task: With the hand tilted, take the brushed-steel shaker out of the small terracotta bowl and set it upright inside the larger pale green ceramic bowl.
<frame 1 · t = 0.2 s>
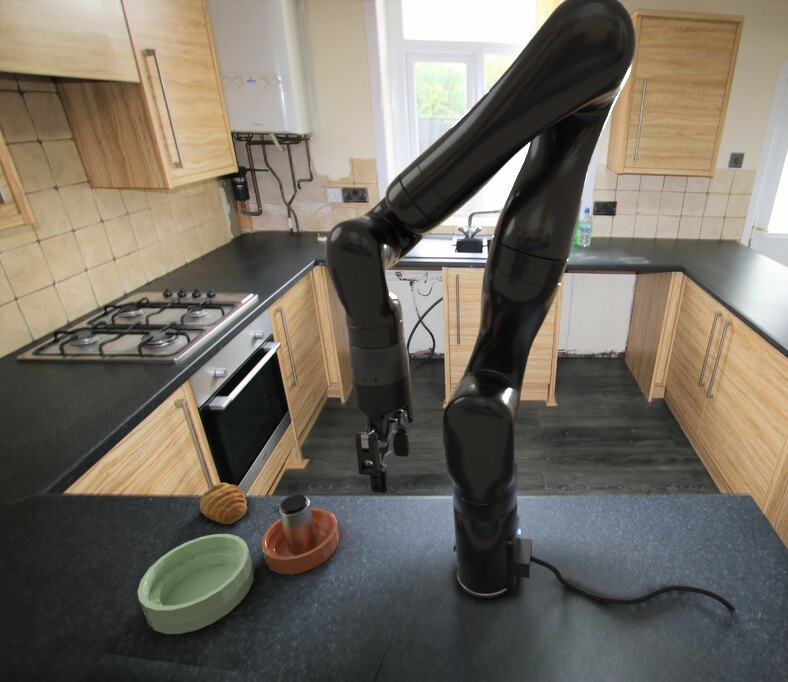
hand: (392, 471, 68), 17 cm above the counter, tool pointing down, fingers open, 8 cm apart
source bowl: (303, 548, 78), on the counter
pastry: (227, 509, 86), on the counter
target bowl: (204, 593, 70), on the counter
shaker: (303, 546, 77), resting on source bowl
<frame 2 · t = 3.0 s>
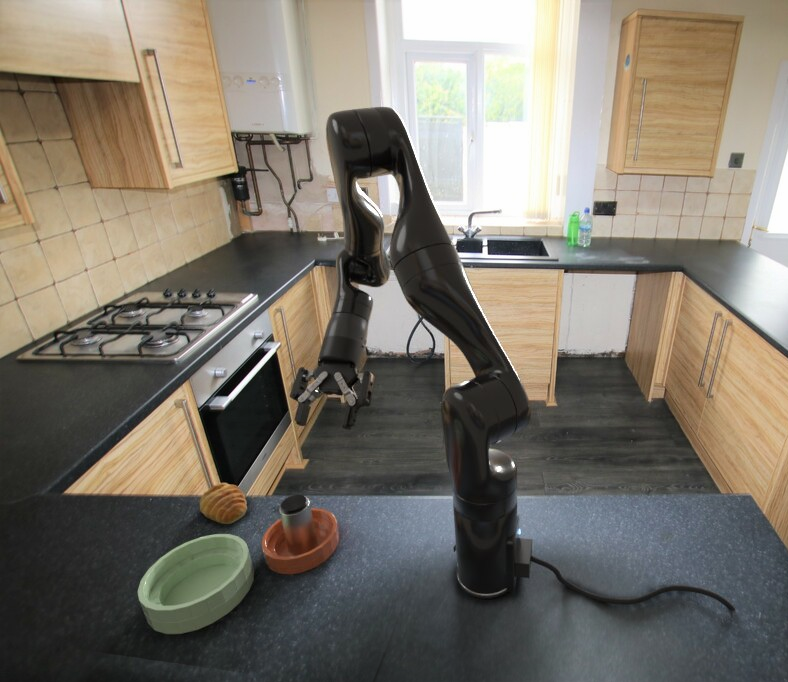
hand: (323, 426, 82), 16 cm above the counter, tool tilted 45°, fingers open, 8 cm apart
nothing on the counter moved.
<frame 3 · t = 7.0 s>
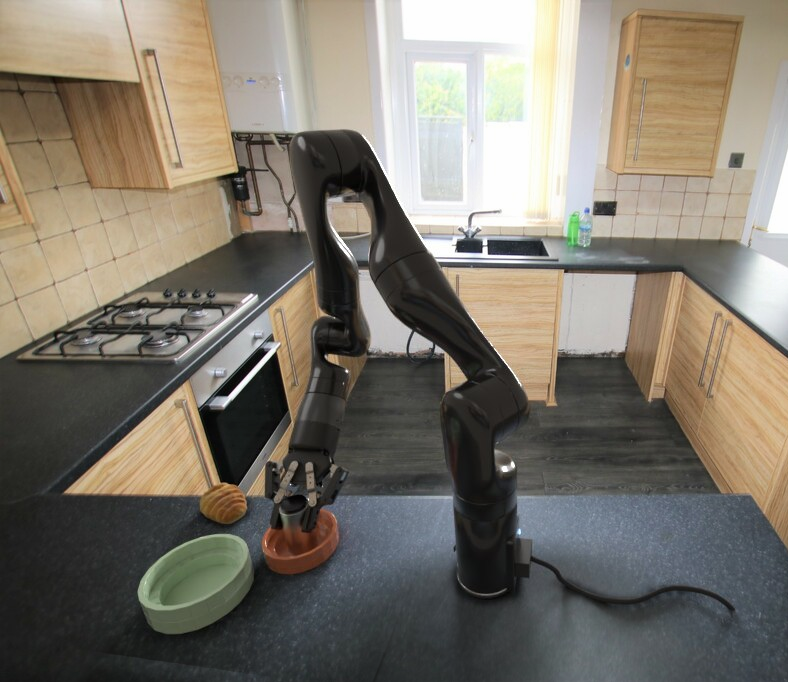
hand: (291, 530, 74), 6 cm above the counter, tool tilted 45°, fingers closed on shaker, 4 cm apart
shaker: (303, 546, 77), point 1 cm above the counter, touching gripper, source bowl
everything else where it was.
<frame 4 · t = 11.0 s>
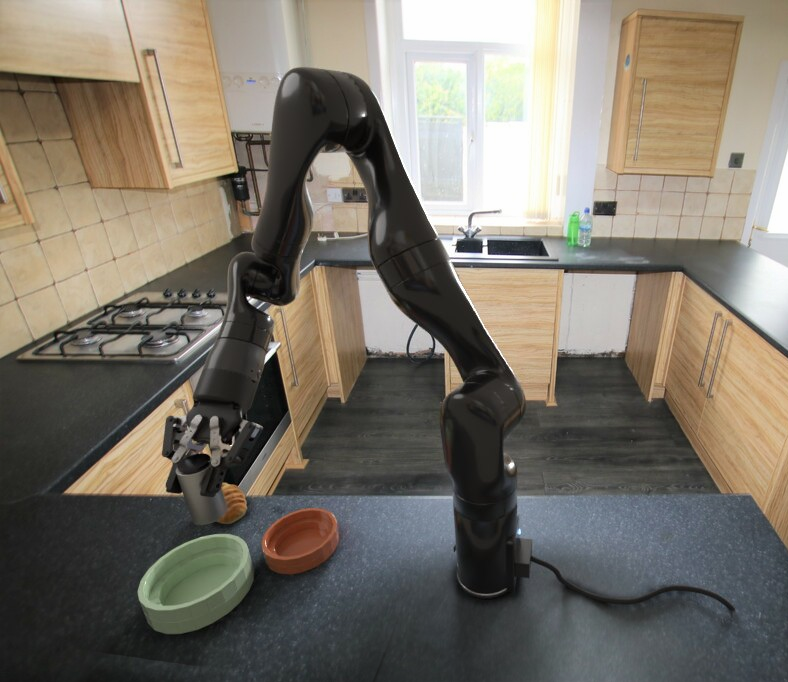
hand: (190, 494, 63), 18 cm above the counter, tool tilted 45°, fingers closed on shaker, 4 cm apart
shaker: (209, 514, 67), point 13 cm above the counter, touching gripper
everything else where it was.
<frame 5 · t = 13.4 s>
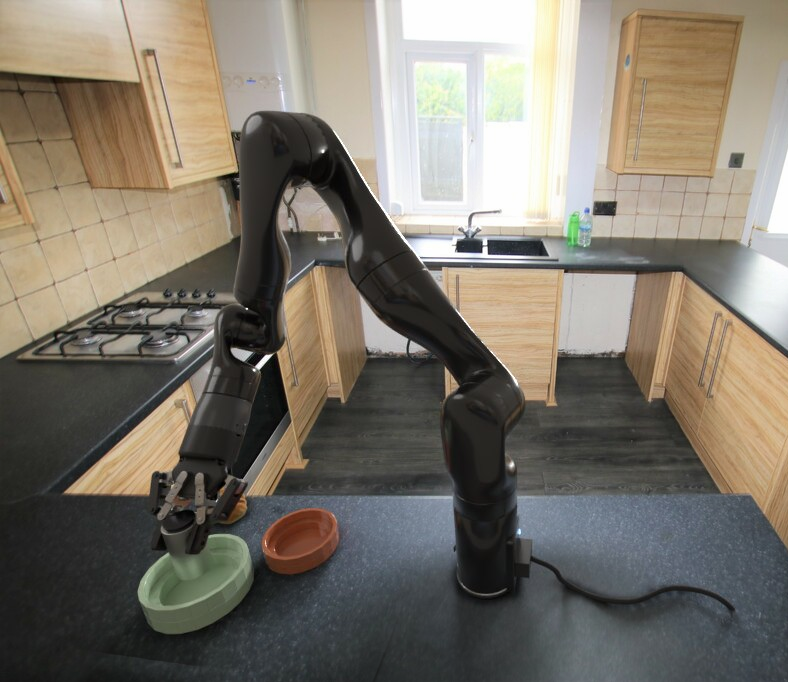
hand: (175, 551, 64), 10 cm above the counter, tool tilted 45°, fingers closed on shaker, 4 cm apart
shaker: (195, 568, 68), point 5 cm above the counter, touching gripper
everything else where it was.
when the fingers open (6 cm above the counter, at t = 15.1 s): shaker stays where it is, resting on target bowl.
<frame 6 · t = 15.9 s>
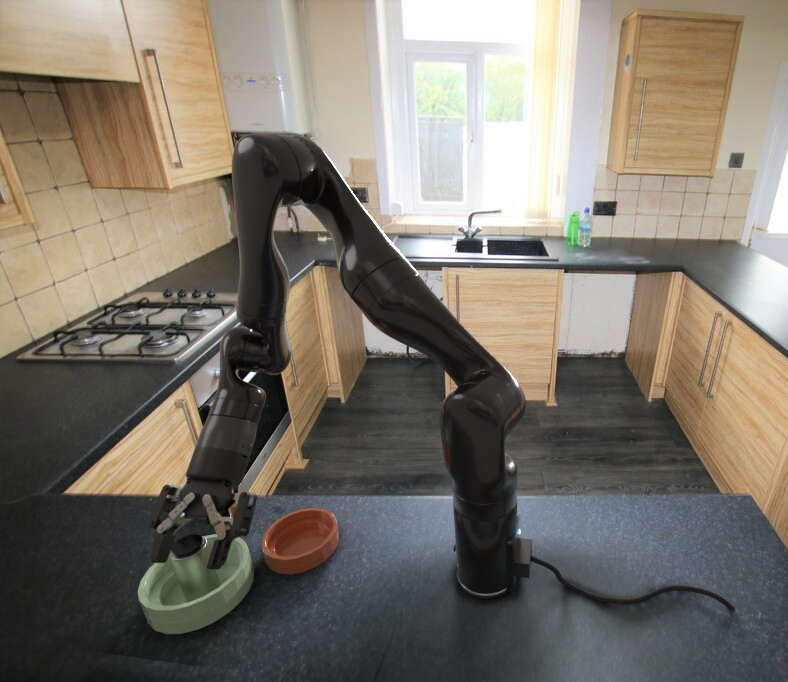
hand: (185, 566, 66), 7 cm above the counter, tool tilted 45°, fingers open, 8 cm apart
shaker: (202, 590, 69), resting on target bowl
everything else where it was.
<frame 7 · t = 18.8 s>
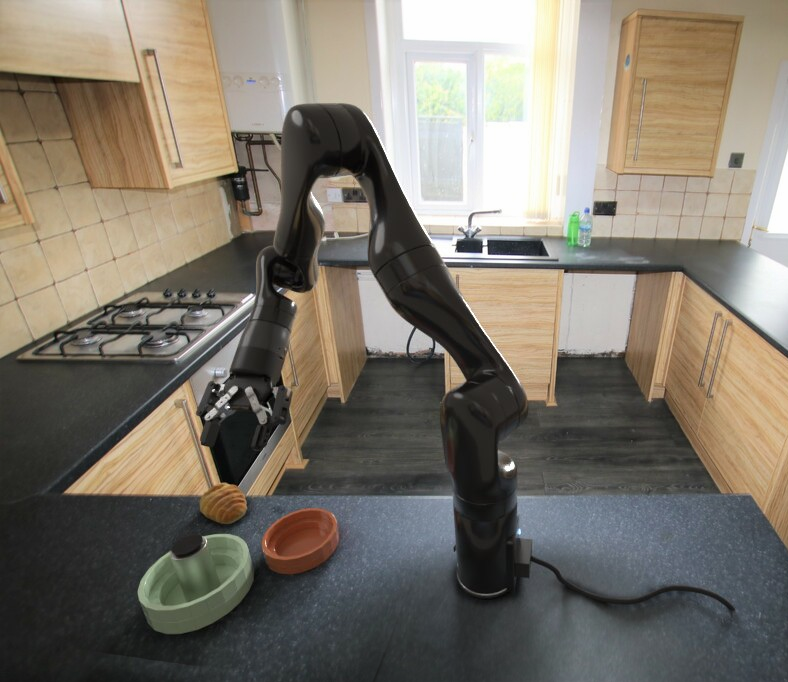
hand: (231, 448, 74), 18 cm above the counter, tool tilted 45°, fingers open, 8 cm apart
nothing on the counter moved.
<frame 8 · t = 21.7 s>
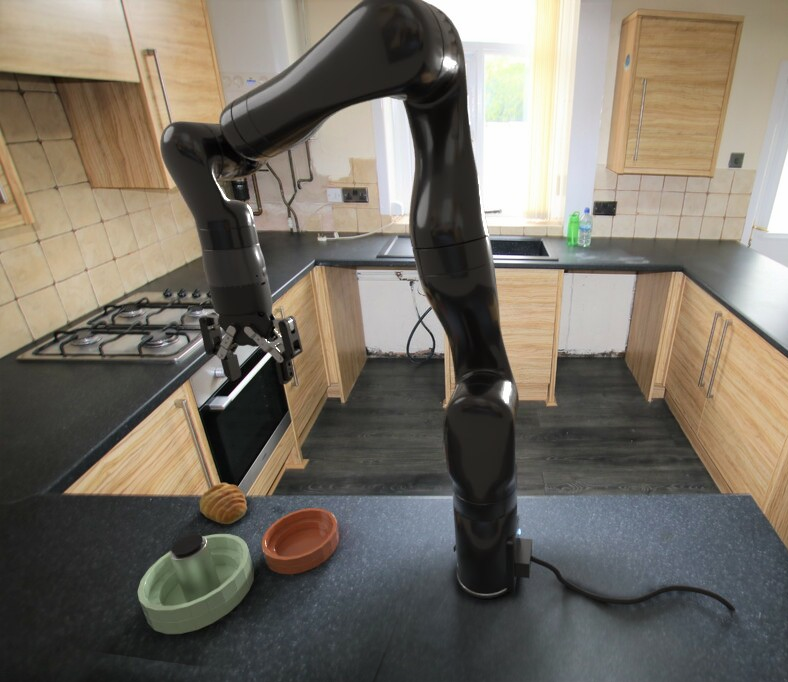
hand: (260, 380, 73), 28 cm above the counter, tool pointing down, fingers open, 8 cm apart
nothing on the counter moved.
at the end: shaker inside the target area in the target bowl (0.1 cm from its centre), point 0.5 cm above the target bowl's base; shaker tilted 0°; the gripper is holding nothing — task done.
